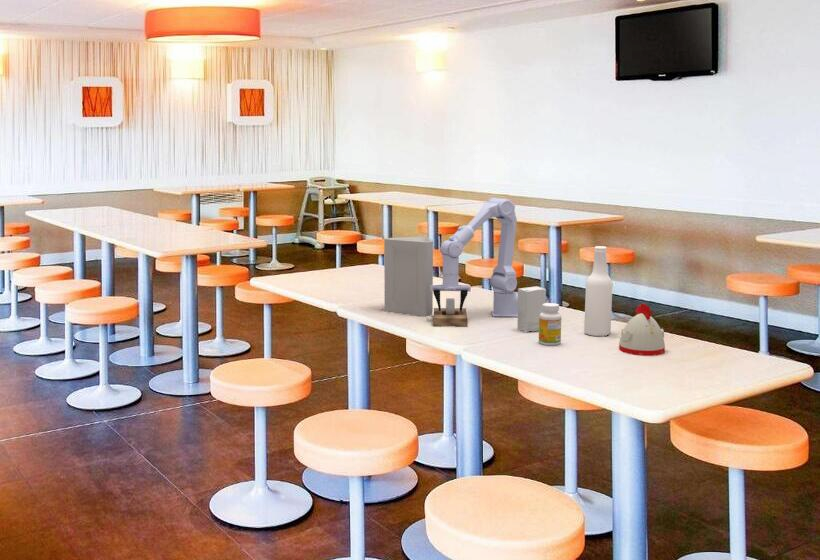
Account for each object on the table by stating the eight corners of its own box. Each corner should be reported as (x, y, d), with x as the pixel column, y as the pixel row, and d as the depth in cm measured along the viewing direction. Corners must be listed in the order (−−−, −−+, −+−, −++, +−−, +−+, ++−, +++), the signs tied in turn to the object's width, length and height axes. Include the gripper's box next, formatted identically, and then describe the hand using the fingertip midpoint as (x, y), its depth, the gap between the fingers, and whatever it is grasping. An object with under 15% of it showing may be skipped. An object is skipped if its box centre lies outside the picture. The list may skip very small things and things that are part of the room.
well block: (465, 316, 323) (465, 308, 323) (467, 326, 305) (467, 318, 305) (433, 315, 323) (433, 308, 323) (433, 326, 306) (433, 318, 305)
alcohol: (579, 332, 298) (582, 245, 293) (601, 330, 301) (604, 244, 296) (593, 337, 289) (596, 248, 284) (615, 335, 293) (619, 247, 288)
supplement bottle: (536, 340, 285) (537, 302, 283) (557, 340, 286) (558, 302, 283) (541, 345, 278) (542, 306, 276) (563, 345, 279) (564, 306, 276)
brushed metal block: (454, 319, 317) (454, 298, 315) (454, 322, 312) (454, 301, 311) (445, 319, 317) (446, 298, 316) (446, 322, 312) (446, 301, 311)
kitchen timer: (633, 357, 265) (635, 309, 262) (611, 346, 278) (613, 300, 275) (673, 354, 268) (675, 306, 266) (649, 343, 281) (651, 298, 279)
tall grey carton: (446, 310, 334) (446, 238, 329) (426, 317, 321) (427, 242, 317) (404, 305, 344) (404, 235, 339) (383, 311, 331) (383, 239, 326)
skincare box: (536, 327, 305) (537, 285, 303) (546, 330, 300) (547, 288, 297) (516, 329, 302) (517, 287, 299) (525, 332, 296) (526, 290, 294)
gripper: (430, 275, 308) (430, 312, 310) (471, 275, 307) (470, 313, 310) (430, 272, 315) (430, 308, 317) (470, 272, 314) (469, 309, 316)
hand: (450, 310), depth 314 cm, fingers open, 7 cm apart
